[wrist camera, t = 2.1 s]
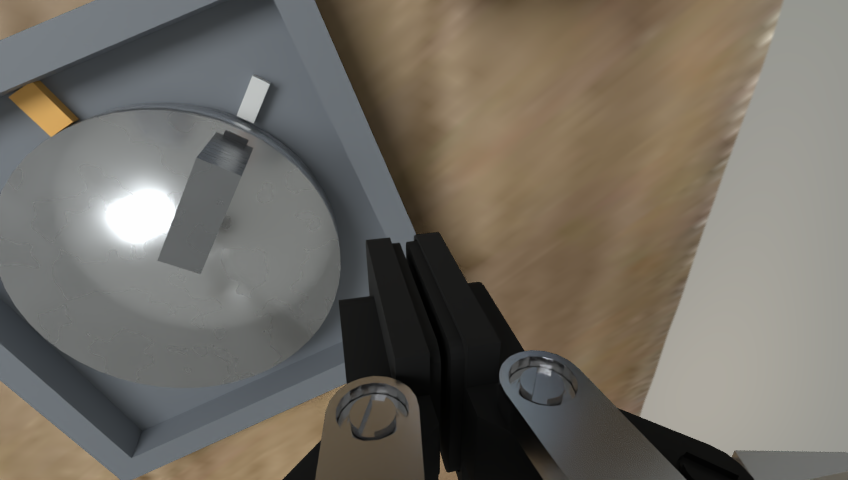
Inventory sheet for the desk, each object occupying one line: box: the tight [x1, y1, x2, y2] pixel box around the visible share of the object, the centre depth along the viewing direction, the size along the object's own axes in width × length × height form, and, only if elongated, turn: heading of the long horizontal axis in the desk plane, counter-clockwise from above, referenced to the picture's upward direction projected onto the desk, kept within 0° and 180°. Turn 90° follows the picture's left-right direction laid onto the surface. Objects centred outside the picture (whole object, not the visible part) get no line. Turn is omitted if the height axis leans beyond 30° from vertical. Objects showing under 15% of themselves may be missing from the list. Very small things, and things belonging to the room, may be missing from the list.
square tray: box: [0, 0, 416, 480], centre depth 24 cm, size 22×22×3 cm
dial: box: [0, 102, 341, 388], centre depth 21 cm, size 15×15×6 cm
